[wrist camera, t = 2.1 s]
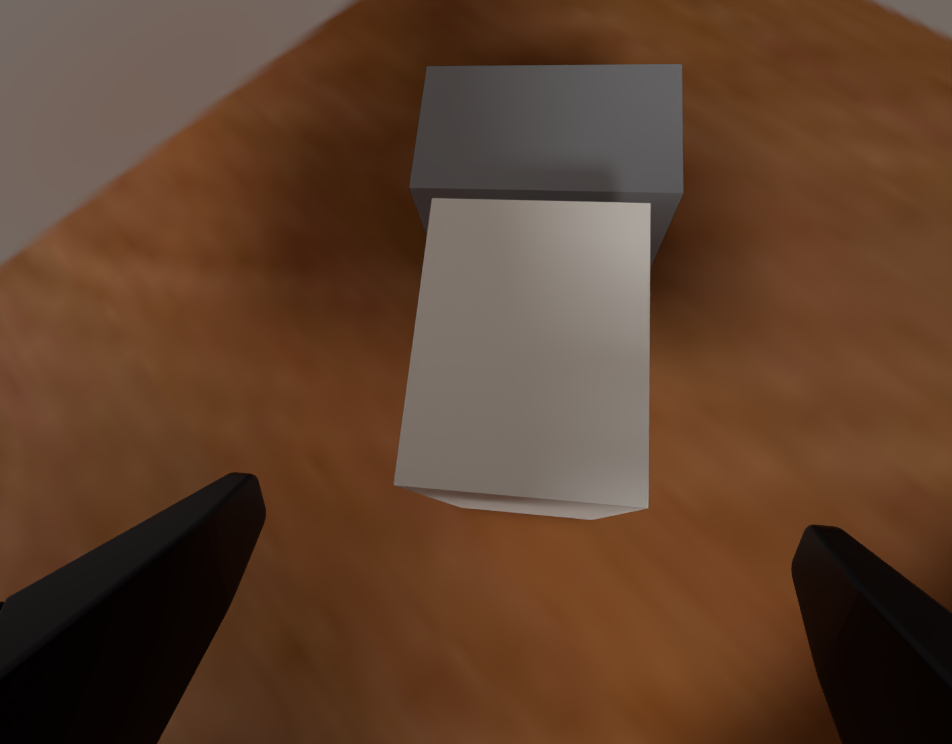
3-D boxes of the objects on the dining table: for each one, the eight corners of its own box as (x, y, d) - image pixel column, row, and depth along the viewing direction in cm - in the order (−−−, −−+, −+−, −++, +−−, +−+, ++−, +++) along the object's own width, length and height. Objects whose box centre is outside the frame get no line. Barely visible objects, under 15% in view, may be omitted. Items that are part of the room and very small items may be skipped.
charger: (591, 520, 18) (647, 508, 9) (460, 507, 19) (393, 485, 10) (601, 243, 21) (651, 27, 12) (487, 239, 22) (454, 31, 13)
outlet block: (631, 310, 21) (683, 193, 13) (450, 302, 22) (408, 187, 14) (633, 218, 22) (681, 64, 15) (460, 213, 23) (426, 65, 15)
